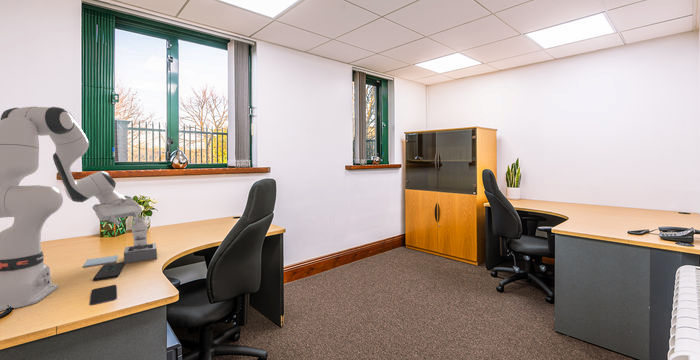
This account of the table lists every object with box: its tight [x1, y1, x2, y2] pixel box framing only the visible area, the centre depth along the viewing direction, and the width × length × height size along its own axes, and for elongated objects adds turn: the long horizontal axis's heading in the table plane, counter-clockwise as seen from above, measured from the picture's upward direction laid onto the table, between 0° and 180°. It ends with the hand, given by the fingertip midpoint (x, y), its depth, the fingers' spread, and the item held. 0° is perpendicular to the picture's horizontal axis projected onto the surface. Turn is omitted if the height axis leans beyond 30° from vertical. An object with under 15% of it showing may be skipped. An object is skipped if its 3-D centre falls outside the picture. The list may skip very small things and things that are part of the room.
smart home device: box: [92, 261, 126, 282], centre depth 134 cm, size 8×2×20 cm
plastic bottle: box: [131, 216, 148, 251], centre depth 153 cm, size 6×7×20 cm
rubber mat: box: [82, 255, 119, 268], centre depth 149 cm, size 12×12×1 cm
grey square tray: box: [123, 242, 158, 264], centre depth 154 cm, size 13×13×5 cm
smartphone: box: [89, 284, 118, 306], centre depth 109 cm, size 7×1×15 cm
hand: (128, 222), depth 155 cm, fingers open, 8 cm apart
